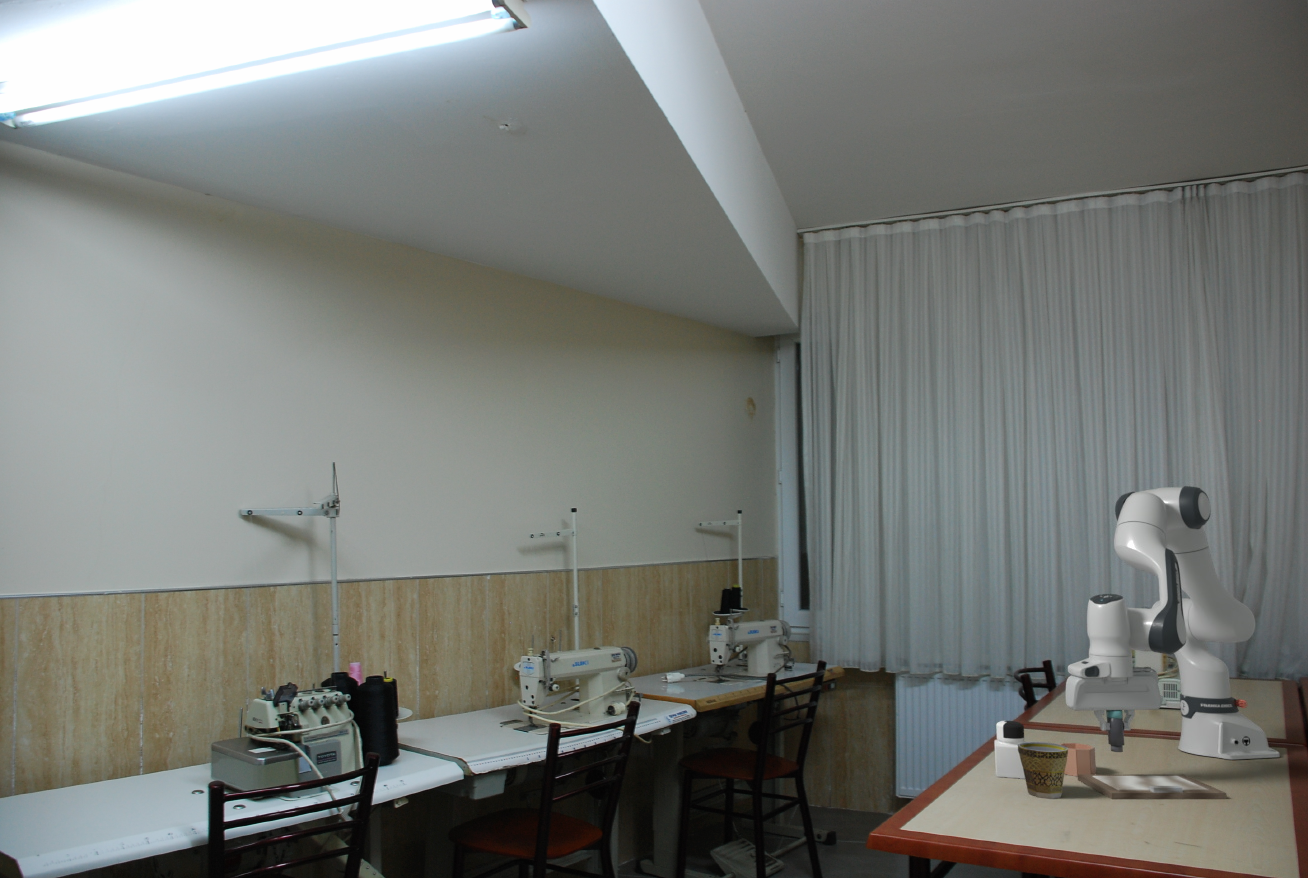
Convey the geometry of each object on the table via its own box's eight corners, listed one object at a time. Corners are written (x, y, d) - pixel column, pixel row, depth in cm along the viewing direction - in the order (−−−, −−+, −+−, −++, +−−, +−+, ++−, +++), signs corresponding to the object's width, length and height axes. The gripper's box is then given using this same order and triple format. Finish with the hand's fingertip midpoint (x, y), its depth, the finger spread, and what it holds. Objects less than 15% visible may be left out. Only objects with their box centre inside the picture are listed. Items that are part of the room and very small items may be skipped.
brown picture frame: (1183, 779, 210) (1183, 769, 210) (1226, 798, 194) (1225, 787, 195) (1077, 779, 210) (1077, 769, 211) (1111, 798, 194) (1111, 788, 195)
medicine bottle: (1027, 772, 218) (1025, 720, 219) (1029, 779, 211) (1026, 725, 212) (995, 770, 220) (993, 718, 221) (996, 777, 213) (993, 723, 215)
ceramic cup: (1081, 798, 195) (1078, 749, 196) (1041, 802, 192) (1038, 752, 193) (1039, 783, 207) (1037, 737, 208) (1001, 787, 204) (999, 740, 205)
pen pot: (1085, 768, 221) (1084, 742, 222) (1100, 776, 214) (1099, 749, 214) (1054, 768, 221) (1053, 742, 222) (1068, 776, 214) (1066, 749, 214)
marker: (1120, 749, 209) (1117, 708, 210) (1128, 752, 206) (1125, 710, 207) (1106, 749, 209) (1103, 708, 210) (1113, 752, 206) (1110, 711, 207)
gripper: (1149, 664, 212) (1154, 726, 211) (1060, 666, 213) (1064, 728, 211) (1164, 668, 206) (1169, 732, 205) (1072, 669, 206) (1076, 733, 205)
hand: (1115, 730), depth 208 cm, fingers closed on marker, 3 cm apart
